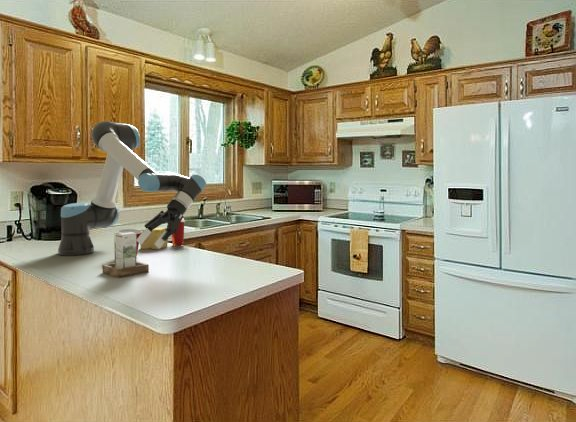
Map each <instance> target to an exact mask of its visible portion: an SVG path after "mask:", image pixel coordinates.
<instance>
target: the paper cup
mask: <svg viewBox="0 0 576 422" xmlns="http://www.w3.org/2000/svg"><path fill="white" fill-rule="evenodd" d="M185 222H186V221H185V218H183V219H182V220H181V222H180V225H179V227H178V230H177V233H176V234H175V235H174V234H172V235H171V242H172V246H175V247H176V246H177V247H178V246H183V245H184V240H185V239H184V237H185Z"/></svg>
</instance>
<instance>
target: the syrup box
mask: <svg viewBox="0 0 576 422" xmlns="http://www.w3.org/2000/svg"><path fill="white" fill-rule="evenodd" d="M113 240H114V244H113V245H114V263H115V268H118V269H122V268H128V267H134V266H137V265H136V261H137V256H136V233H134V232H121V233H118V232H114V239H113Z"/></svg>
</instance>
